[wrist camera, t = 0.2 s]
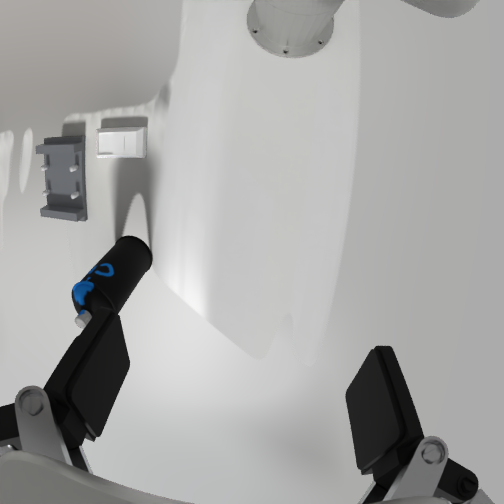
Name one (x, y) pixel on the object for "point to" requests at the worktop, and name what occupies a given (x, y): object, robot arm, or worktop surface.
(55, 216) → the pin tray
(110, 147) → the white rectangular block
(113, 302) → the aerosol can
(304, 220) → the worktop surface
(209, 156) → the worktop surface
